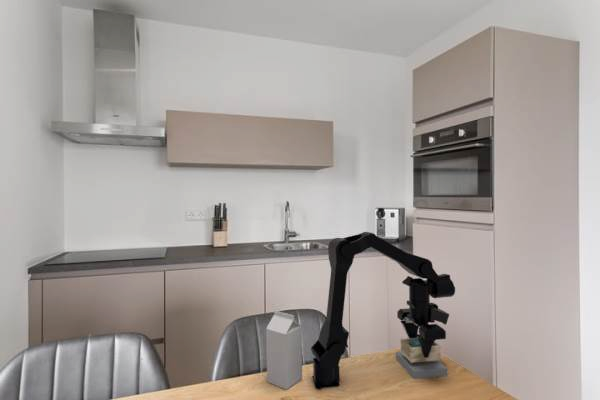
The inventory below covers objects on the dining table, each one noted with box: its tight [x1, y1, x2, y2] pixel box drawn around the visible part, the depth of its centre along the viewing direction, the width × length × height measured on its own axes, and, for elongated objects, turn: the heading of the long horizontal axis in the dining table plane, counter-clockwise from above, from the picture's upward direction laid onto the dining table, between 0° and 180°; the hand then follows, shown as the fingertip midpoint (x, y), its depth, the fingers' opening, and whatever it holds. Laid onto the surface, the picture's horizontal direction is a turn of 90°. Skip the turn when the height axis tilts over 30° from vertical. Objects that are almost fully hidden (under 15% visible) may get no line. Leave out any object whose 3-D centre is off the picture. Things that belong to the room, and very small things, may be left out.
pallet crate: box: [400, 337, 442, 363], centre depth 102 cm, size 9×7×4 cm
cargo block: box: [410, 338, 421, 348], centre depth 102 cm, size 4×4×4 cm
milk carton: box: [265, 310, 303, 390], centre depth 96 cm, size 7×7×19 cm
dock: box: [395, 351, 448, 380], centre depth 102 cm, size 10×12×2 cm
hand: (420, 351), depth 102 cm, fingers closed on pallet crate, 7 cm apart
